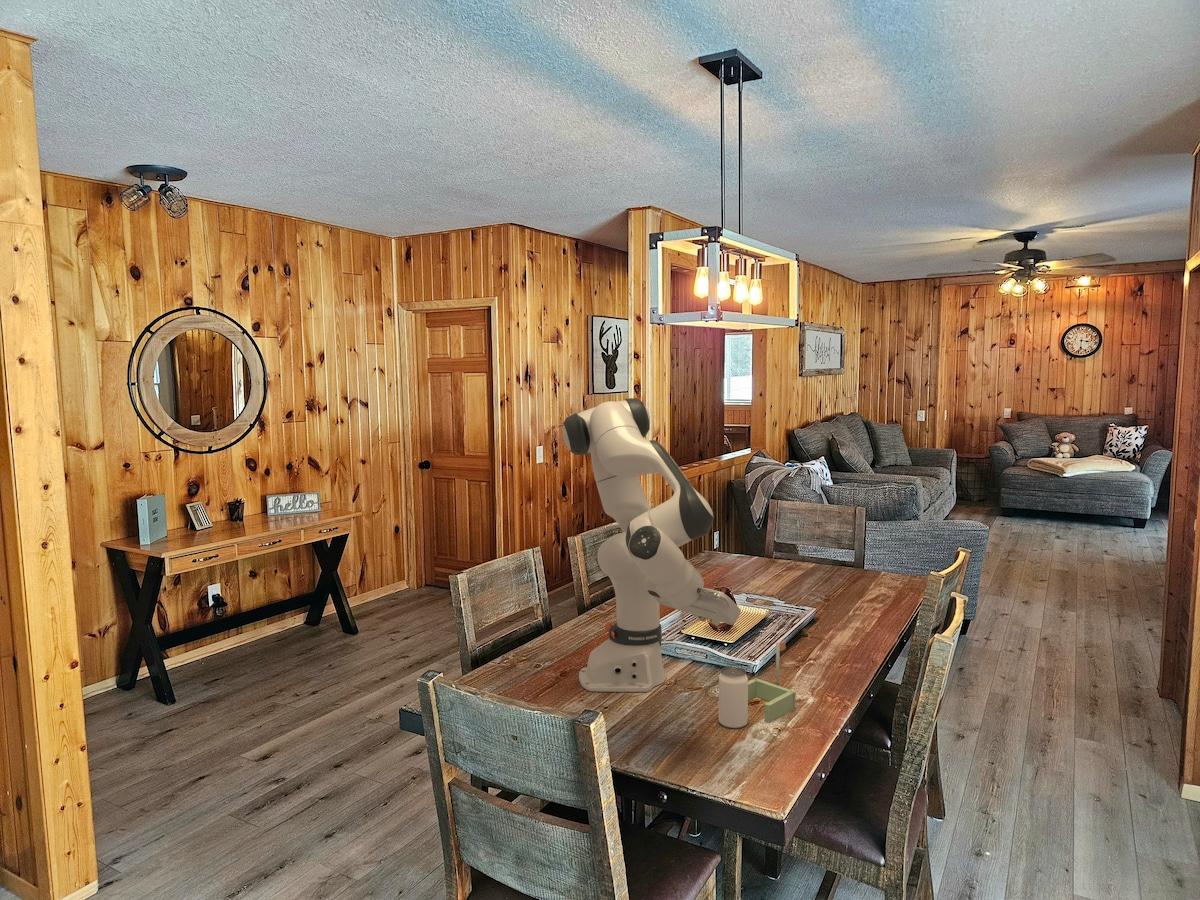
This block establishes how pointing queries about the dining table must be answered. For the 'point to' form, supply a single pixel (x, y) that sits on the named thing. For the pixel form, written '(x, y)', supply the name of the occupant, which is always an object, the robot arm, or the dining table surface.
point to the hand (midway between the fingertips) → (710, 620)
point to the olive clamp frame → (773, 692)
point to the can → (733, 697)
